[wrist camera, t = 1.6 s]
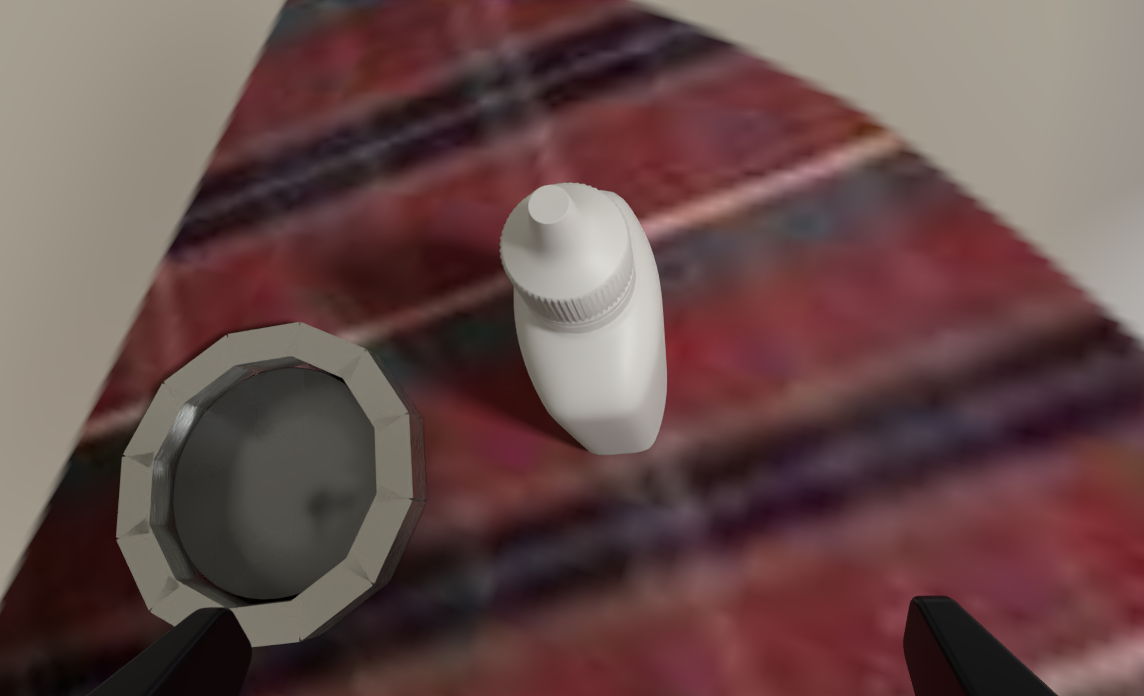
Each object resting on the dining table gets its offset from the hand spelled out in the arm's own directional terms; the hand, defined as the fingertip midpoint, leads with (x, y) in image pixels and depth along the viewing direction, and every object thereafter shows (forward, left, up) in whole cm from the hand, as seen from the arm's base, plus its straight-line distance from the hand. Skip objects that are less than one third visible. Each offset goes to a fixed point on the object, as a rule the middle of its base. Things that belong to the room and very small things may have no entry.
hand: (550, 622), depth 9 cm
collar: (+4, +11, -12) cm, 17 cm away
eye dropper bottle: (+6, -1, -12) cm, 14 cm away
